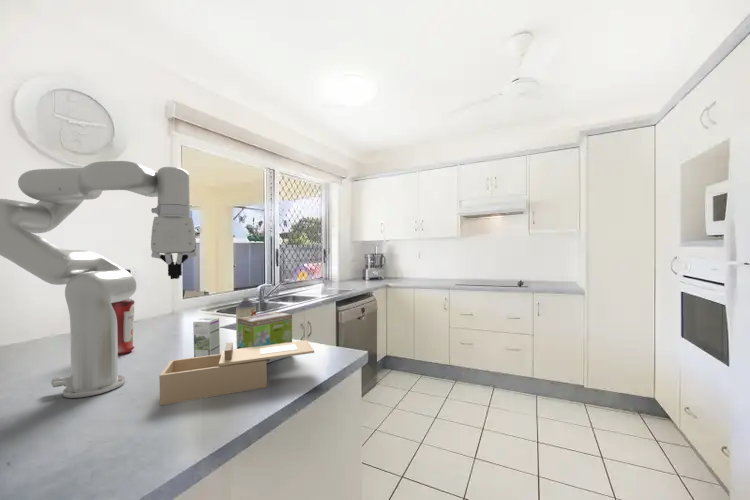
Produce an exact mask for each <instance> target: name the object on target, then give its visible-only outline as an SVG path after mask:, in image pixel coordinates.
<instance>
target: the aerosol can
mask: <svg viewBox="0 0 750 500" xmlns="http://www.w3.org/2000/svg"><path fill="white" fill-rule="evenodd" d="M242 298H243V299H242V301H240V302H239V303H238V305H236V308H235V323H236V325H235V326H236V327H235V329H236V330H235V332H236V333H235V334H236V336H235V337H236V340H237V333H238V318H242V317H248V316H254V315H257V306H256V304H255V303H254V302H252V301H251V300H250V299H249V296H243V297H242Z"/></svg>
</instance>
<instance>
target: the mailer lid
mask: <svg viewBox="0 0 750 500" xmlns="http://www.w3.org/2000/svg"><path fill="white" fill-rule="evenodd" d="M233 347H234V343H233V342H232V341H231V342H227V343H226V344H225V347H224V350H222V351H221V353H220V354H221V358H220V361H219V366H223V365H230V364H237V363H244V362H252V361H259V360H266V359H273V358H280V357H286V358H289V357H288V356H290V357H293V356H299V355H301V356H302V355H307V354H308V355H309V354H314V353H315V350H314V348H313V347H312V346H311V344H310V343H309V341H308V340H307V339H306V340H298V341H292V342H289V343H281V344H272V345H264V346H256V347H248V348H240V349H237V348H233Z"/></svg>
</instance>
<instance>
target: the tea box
mask: <svg viewBox="0 0 750 500" xmlns="http://www.w3.org/2000/svg"><path fill="white" fill-rule="evenodd" d="M289 342H293V315H292V314H291V313H285V312H280V311H273V312H267V313H261V314H256V315H254V316H248V317H242V318H238V333H237V339H236V349H240V348H248V347H256V346H264V345H272V344H281V343H289ZM290 357H291V356H288V357H280V358H273V359H266V362H267V364H268V363H272V362H275V361H278V360H283V359H285V358H290Z"/></svg>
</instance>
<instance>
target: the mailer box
mask: <svg viewBox="0 0 750 500" xmlns="http://www.w3.org/2000/svg"><path fill="white" fill-rule="evenodd" d="M221 354H222V353H220V354H217V355H209V356H201V357H194V356H193V357H187V358H186V357H185V358H178V359H172V360H171V359H170V361H169V362H168V364H167V365H166V366H165V368H164V369H163V370H162V372H161V373H160V374H159V406H163V405H169V404H177V403H181V402H187V401H194V400H198V399H204V398H212V397H215V396H217V397H218V396H223V395H228V394H235V393H241V392H245V391H252V390H257V389H264V388H267V387H268V373H267V371H268V370H267V368H268V367H267V366H268V365H267V364H268V363H267V362H266V360H259V361H252V362H244V363H237V364H230V365H223V366H219V361H220V358H221Z"/></svg>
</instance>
